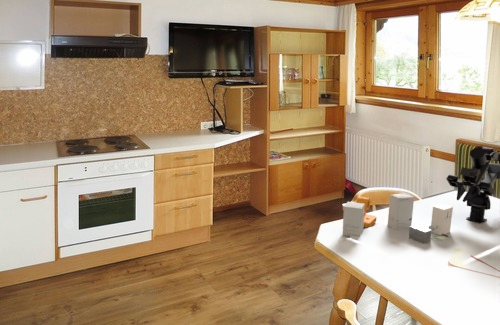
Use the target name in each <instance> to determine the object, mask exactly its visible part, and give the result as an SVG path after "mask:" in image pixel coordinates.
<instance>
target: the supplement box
mask: <svg viewBox="0 0 500 325" xmlns="http://www.w3.org/2000/svg"><path fill="white" fill-rule="evenodd" d="M364 208H365V204H362V203H356V202H354V201H353V202H352V201H347V202H346V203H345V204H344V206H343V217H342V218H343V220H342V236H346V237H349V235H351V236H359V237H361V236H362V234H363V232H364V227H363V226H364Z"/></svg>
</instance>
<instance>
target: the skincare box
mask: <svg viewBox="0 0 500 325" xmlns="http://www.w3.org/2000/svg"><path fill="white" fill-rule="evenodd" d="M414 199H415V196H413V195H410V194H408V193H397V194H395V193H393V194H390V196H389V204H388V205H389V207H388V216H387V226H389V227H390V228H392V229H393V230H402V229H406V228H407V229H410V226H412V221H413V211H414V203H415V200H414Z"/></svg>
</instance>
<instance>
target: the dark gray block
mask: <svg viewBox="0 0 500 325" xmlns="http://www.w3.org/2000/svg"><path fill="white" fill-rule="evenodd" d="M431 231H432V230H431V229H429V227H425V226H421V225H420V224H413V225H411V226H410V228H409V230H408V239H411V240H413V241H415V242H419V243H421V244H423V245H425V244H427V243H430V242H431V239H432V232H431Z"/></svg>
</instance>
